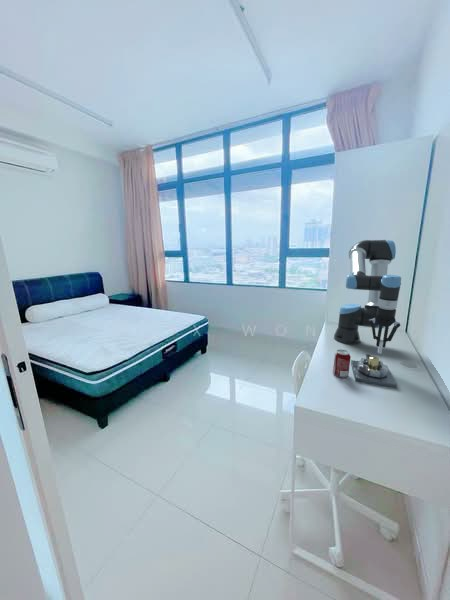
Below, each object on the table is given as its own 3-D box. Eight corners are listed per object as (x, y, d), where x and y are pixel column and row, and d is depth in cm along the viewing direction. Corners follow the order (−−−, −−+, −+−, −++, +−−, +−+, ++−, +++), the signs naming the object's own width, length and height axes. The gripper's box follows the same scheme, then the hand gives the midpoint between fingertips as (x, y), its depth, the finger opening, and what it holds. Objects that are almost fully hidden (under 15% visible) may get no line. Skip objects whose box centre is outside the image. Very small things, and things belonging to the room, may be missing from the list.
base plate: (350, 363, 129) (352, 347, 127) (386, 369, 124) (388, 352, 121) (355, 381, 113) (357, 363, 111) (396, 388, 107) (399, 370, 105)
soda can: (349, 379, 114) (352, 355, 112) (334, 377, 116) (337, 354, 113) (346, 372, 121) (348, 349, 118) (331, 370, 122) (333, 348, 119)
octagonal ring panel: (389, 379, 110) (391, 371, 109) (359, 374, 114) (360, 367, 113) (380, 360, 127) (381, 354, 126) (354, 356, 131) (355, 350, 131)
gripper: (371, 307, 117) (364, 352, 123) (404, 311, 111) (395, 358, 117) (371, 304, 123) (364, 347, 130) (402, 307, 117) (394, 352, 123)
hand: (379, 352), depth 123 cm, fingers closed
